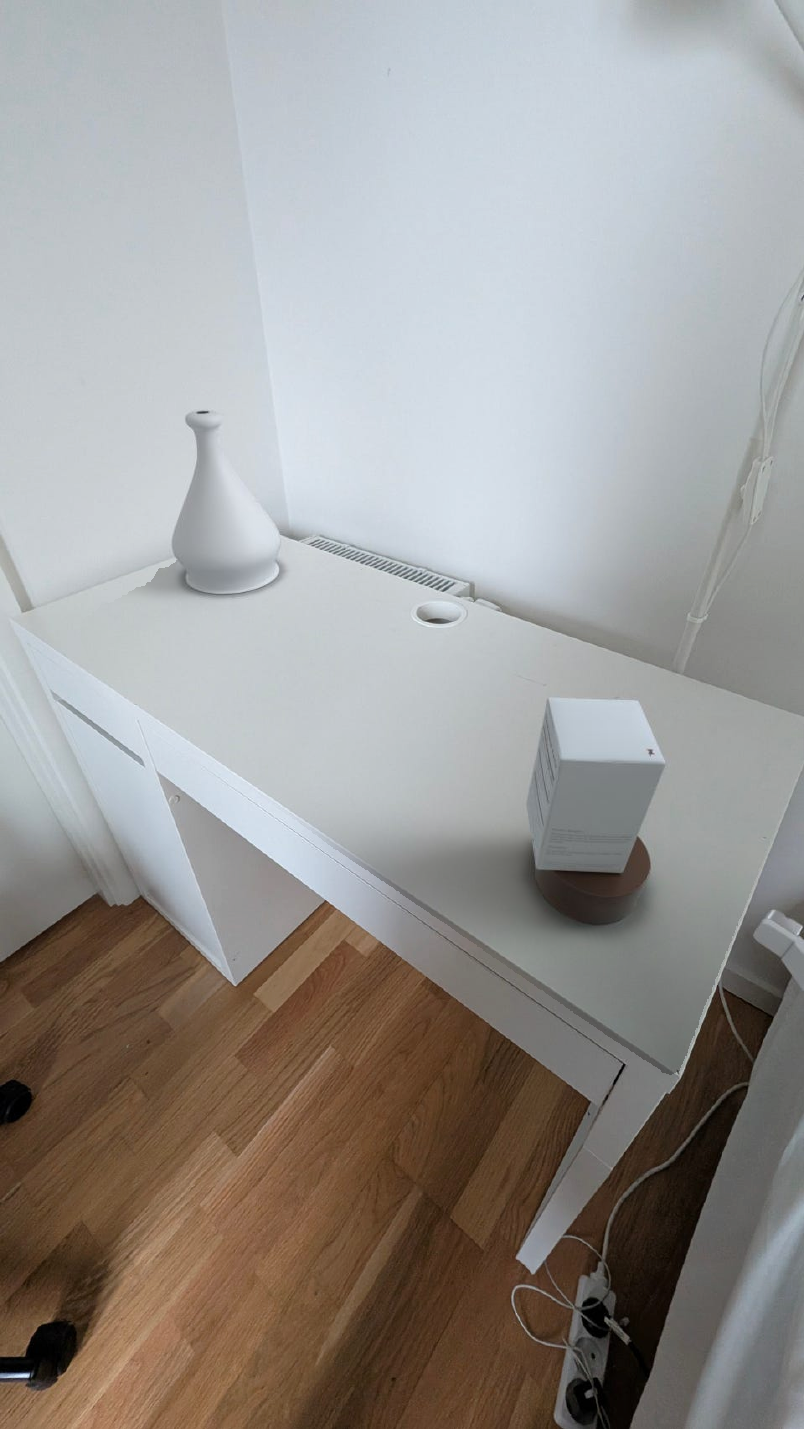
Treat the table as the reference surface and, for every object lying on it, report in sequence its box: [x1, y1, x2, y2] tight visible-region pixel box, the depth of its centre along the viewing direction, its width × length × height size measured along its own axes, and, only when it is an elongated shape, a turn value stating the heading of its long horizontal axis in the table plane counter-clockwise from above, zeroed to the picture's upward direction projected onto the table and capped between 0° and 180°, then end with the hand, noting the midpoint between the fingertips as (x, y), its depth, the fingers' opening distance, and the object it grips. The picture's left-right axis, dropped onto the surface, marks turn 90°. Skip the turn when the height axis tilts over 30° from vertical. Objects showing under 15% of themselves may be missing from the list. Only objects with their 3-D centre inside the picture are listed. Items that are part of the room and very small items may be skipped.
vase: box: [171, 409, 282, 595], centre depth 91 cm, size 17×17×25 cm
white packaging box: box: [525, 696, 667, 873], centre depth 46 cm, size 7×7×13 cm
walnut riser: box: [534, 836, 652, 925], centre depth 50 cm, size 9×9×4 cm
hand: (791, 876), depth 37 cm, fingers open, 8 cm apart
